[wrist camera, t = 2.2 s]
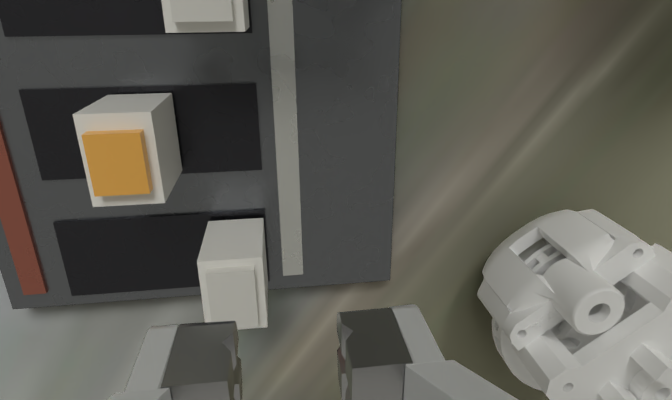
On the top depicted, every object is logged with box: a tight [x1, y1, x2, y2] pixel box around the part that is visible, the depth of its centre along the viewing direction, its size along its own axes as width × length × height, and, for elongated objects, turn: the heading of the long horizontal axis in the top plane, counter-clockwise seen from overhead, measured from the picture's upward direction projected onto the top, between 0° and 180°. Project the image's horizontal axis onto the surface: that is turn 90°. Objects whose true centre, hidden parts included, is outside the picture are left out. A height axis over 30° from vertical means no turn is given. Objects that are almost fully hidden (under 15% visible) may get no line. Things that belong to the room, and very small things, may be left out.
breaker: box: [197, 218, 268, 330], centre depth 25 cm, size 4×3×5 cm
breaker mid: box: [72, 93, 182, 207], centre depth 22 cm, size 4×3×5 cm
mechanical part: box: [477, 209, 672, 400], centre depth 27 cm, size 11×12×12 cm
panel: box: [0, 0, 401, 309], centre depth 25 cm, size 20×22×2 cm
